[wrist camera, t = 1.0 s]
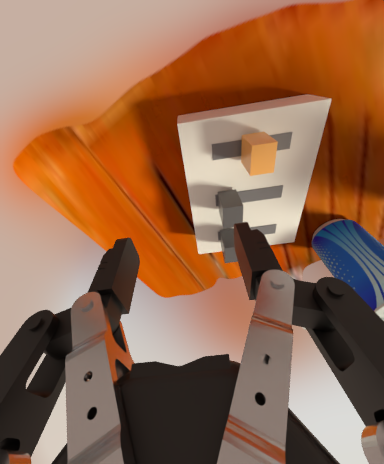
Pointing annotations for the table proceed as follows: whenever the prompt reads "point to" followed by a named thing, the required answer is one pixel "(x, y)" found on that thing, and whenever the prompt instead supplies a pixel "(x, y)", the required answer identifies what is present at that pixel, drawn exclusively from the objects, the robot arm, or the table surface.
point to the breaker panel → (236, 176)
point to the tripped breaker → (258, 153)
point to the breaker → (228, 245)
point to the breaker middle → (230, 208)
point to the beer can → (353, 259)
